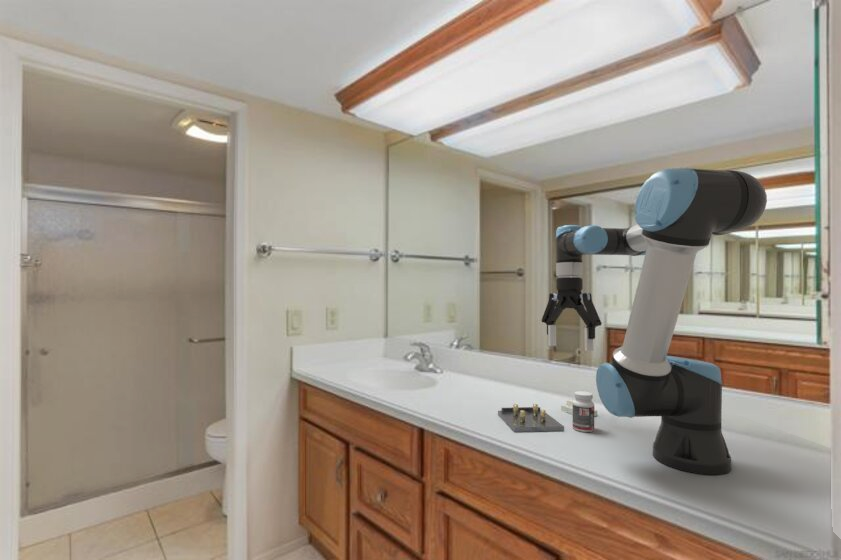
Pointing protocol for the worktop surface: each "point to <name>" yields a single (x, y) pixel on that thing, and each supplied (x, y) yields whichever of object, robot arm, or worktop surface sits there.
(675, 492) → the worktop surface
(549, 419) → the plate
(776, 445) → the worktop surface
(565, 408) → the soap dish
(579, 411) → the pill bottle
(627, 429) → the worktop surface
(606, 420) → the worktop surface
